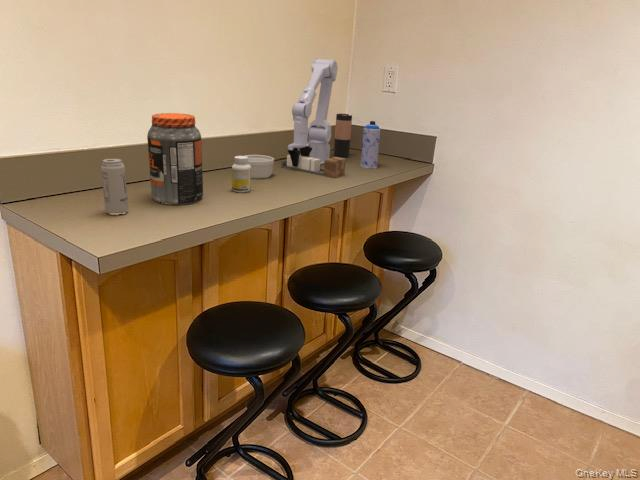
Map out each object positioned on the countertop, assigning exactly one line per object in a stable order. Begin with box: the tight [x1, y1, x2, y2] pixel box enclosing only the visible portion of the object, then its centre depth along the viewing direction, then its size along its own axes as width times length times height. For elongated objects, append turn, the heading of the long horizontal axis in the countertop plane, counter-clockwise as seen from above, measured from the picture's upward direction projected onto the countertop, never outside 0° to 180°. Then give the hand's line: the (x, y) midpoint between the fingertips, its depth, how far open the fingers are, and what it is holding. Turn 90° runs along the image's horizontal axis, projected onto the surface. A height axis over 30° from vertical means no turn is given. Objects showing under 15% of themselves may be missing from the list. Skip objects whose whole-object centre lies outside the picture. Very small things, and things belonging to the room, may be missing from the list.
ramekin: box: [245, 154, 275, 180], centre depth 188 cm, size 13×13×7 cm
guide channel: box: [280, 159, 325, 177], centre depth 203 cm, size 8×22×2 cm, turn 57°
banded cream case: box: [286, 154, 321, 172], centre depth 203 cm, size 5×14×5 cm, turn 57°
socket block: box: [323, 156, 347, 179], centre depth 195 cm, size 8×5×7 cm, turn 147°
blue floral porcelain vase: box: [359, 120, 381, 170], centre depth 214 cm, size 8×8×20 cm
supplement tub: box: [146, 112, 204, 205], centre depth 149 cm, size 16×16×26 cm
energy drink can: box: [100, 158, 129, 213], centre depth 134 cm, size 6×6×15 cm
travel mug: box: [333, 113, 353, 159], centre depth 233 cm, size 8×8×20 cm
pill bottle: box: [231, 155, 252, 193], centre depth 165 cm, size 6×6×12 cm
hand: (299, 165), depth 205 cm, fingers open, 6 cm apart
